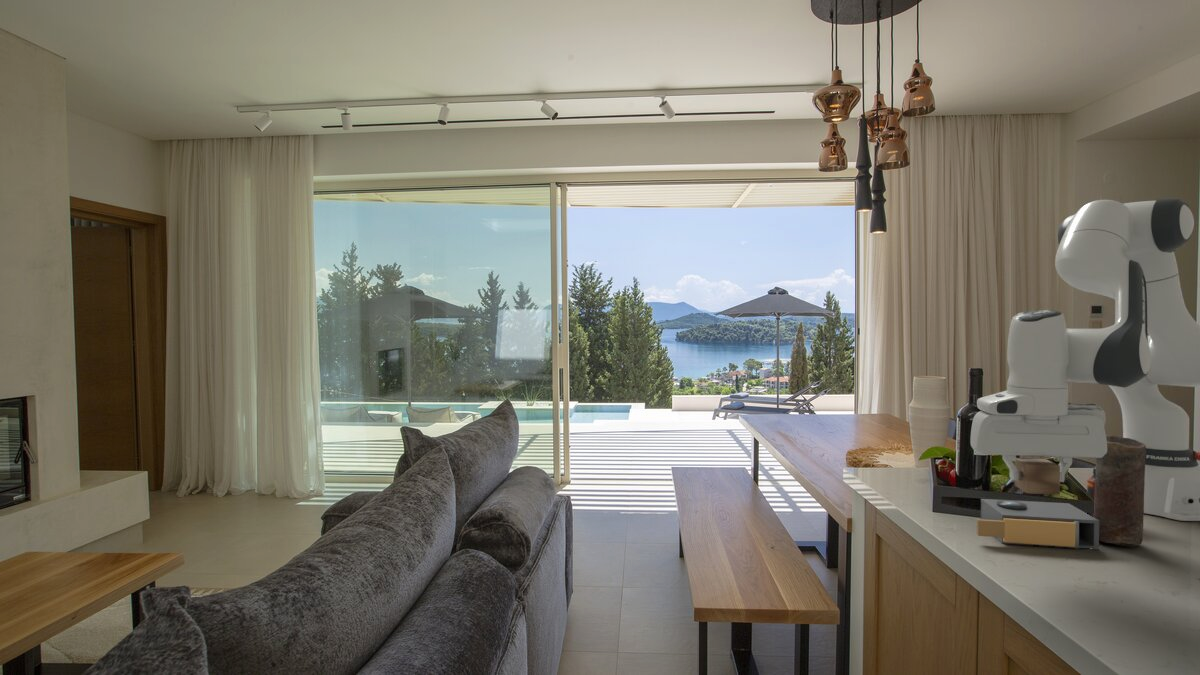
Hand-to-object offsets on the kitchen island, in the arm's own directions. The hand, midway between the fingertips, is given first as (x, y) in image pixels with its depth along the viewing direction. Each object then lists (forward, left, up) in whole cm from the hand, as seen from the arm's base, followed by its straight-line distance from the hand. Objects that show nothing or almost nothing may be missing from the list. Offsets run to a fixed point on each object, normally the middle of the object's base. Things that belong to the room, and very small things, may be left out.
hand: (1036, 480), depth 109 cm
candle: (-19, -13, -15) cm, 27 cm away
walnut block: (0, 0, -2) cm, 2 cm away
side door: (-2, -8, -14) cm, 16 cm away
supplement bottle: (-24, -27, -15) cm, 39 cm away
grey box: (-6, -14, -14) cm, 21 cm away
